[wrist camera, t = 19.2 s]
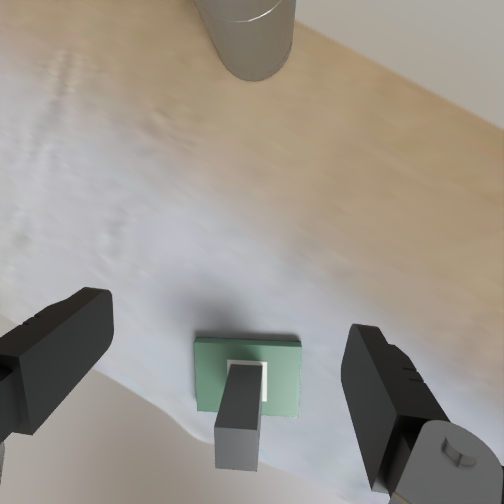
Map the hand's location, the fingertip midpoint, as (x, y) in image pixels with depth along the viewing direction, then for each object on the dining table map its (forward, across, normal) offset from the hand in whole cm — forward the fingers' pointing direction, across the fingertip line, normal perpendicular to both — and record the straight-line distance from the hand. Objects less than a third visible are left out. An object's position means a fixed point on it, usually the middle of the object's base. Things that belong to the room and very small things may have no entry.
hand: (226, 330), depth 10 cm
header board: (+30, -1, +27) cm, 40 cm away
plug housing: (+28, -1, +27) cm, 39 cm away
